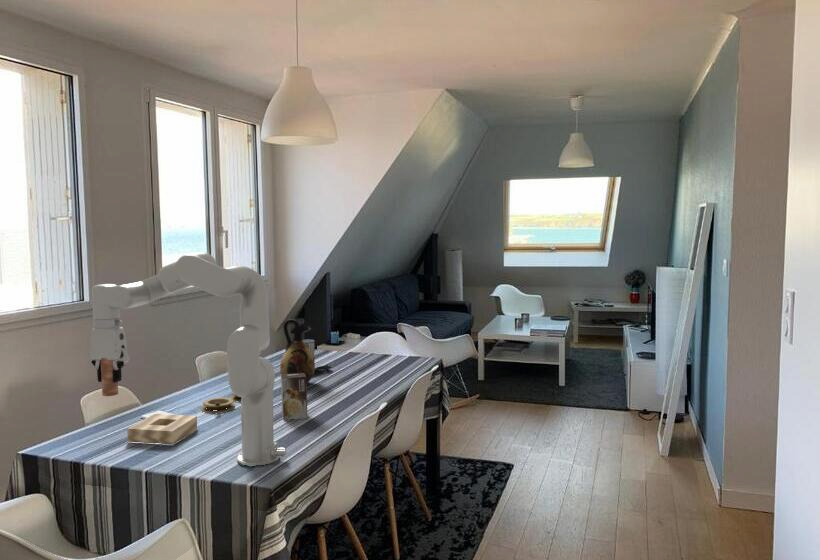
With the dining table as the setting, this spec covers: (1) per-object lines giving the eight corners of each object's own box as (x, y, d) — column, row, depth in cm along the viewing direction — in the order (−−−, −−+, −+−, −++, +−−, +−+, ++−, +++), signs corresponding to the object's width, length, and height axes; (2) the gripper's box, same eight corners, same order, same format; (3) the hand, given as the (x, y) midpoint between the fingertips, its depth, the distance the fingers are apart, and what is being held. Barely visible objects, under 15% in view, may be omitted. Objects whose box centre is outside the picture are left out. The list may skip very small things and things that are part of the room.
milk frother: (294, 368, 303) (294, 339, 302) (325, 366, 310) (324, 337, 308) (301, 375, 290) (300, 345, 289) (333, 372, 297) (332, 342, 295)
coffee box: (306, 413, 232) (305, 372, 230) (307, 418, 226) (307, 376, 224) (281, 415, 229) (280, 374, 228) (282, 420, 223) (281, 378, 222)
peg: (121, 392, 192) (119, 355, 191) (112, 396, 188) (110, 358, 187) (108, 392, 193) (106, 355, 192) (99, 396, 189) (97, 358, 188)
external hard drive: (161, 425, 219) (141, 419, 226) (180, 419, 226) (160, 413, 233) (161, 421, 219) (140, 415, 226) (180, 415, 226) (160, 409, 233)
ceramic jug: (318, 381, 280) (318, 316, 277) (310, 390, 265) (309, 322, 262) (283, 380, 282) (281, 316, 279) (272, 389, 266) (270, 321, 264)
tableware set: (225, 418, 228) (225, 403, 228) (186, 411, 237) (186, 396, 236) (275, 398, 255) (275, 384, 254) (239, 392, 263) (238, 379, 263)
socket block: (197, 429, 213) (196, 415, 213) (172, 446, 198) (172, 431, 197) (155, 427, 216) (154, 413, 215) (127, 443, 200) (127, 428, 200)
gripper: (139, 322, 191) (141, 379, 193) (90, 321, 193) (93, 377, 195) (124, 326, 183) (127, 385, 185) (74, 325, 186) (77, 383, 188)
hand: (109, 380), depth 190 cm, fingers closed on peg, 4 cm apart
